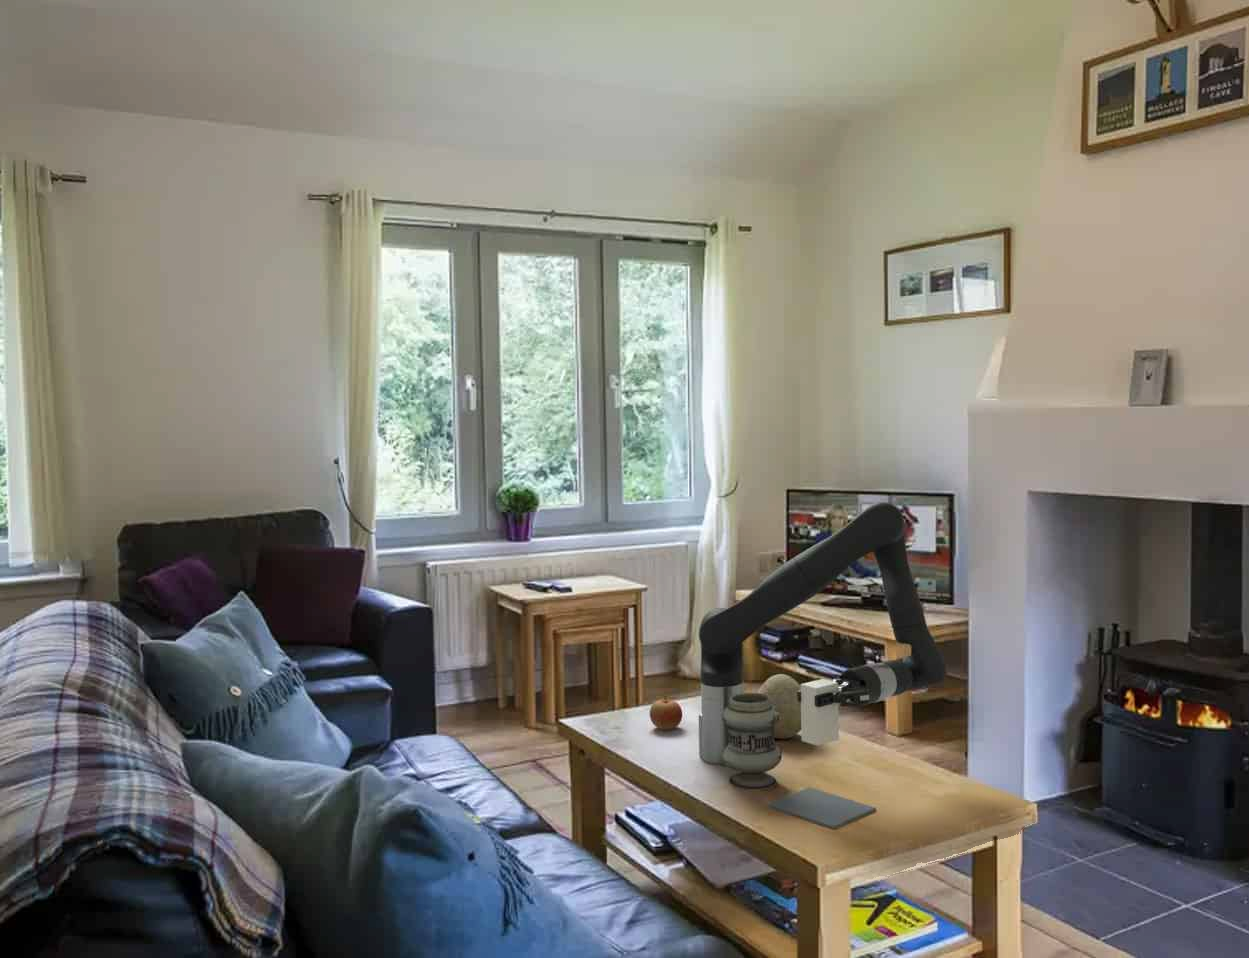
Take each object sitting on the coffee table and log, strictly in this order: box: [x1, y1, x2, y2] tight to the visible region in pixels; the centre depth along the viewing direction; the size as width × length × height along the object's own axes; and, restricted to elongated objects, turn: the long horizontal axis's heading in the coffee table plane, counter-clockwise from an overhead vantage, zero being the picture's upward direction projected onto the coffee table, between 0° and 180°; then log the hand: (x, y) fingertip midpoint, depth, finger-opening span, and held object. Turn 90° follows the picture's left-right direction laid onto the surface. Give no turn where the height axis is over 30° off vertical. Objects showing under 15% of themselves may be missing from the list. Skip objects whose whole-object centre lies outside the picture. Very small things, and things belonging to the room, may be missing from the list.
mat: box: [766, 786, 877, 829], centre depth 203 cm, size 16×13×1 cm
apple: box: [649, 695, 683, 730], centre depth 258 cm, size 8×8×8 cm
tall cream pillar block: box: [800, 678, 840, 746], centre depth 202 cm, size 4×6×11 cm, turn 126°
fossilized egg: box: [757, 673, 801, 740], centre depth 248 cm, size 13×13×15 cm
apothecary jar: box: [722, 692, 783, 792], centre depth 218 cm, size 12×12×18 cm
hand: (807, 699), depth 200 cm, fingers closed on tall cream pillar block, 4 cm apart
